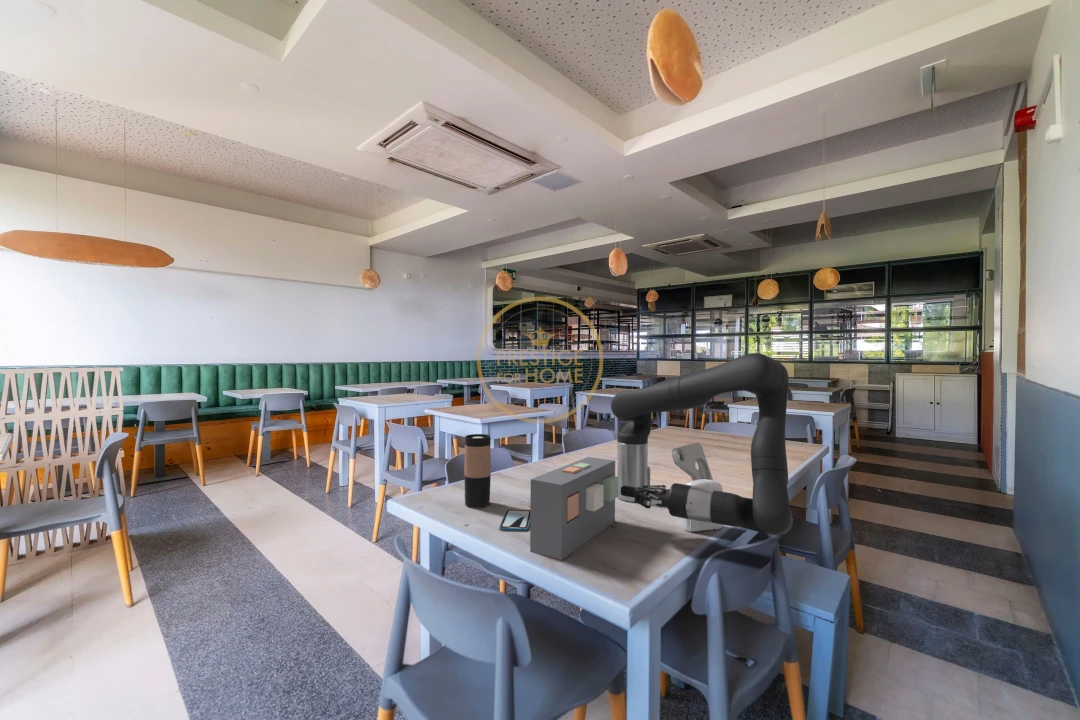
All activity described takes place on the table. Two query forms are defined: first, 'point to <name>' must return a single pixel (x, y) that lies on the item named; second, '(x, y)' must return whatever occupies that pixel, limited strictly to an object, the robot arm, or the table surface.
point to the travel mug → (477, 470)
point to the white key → (594, 496)
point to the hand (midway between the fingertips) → (621, 490)
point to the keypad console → (551, 507)
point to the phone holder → (692, 461)
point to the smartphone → (515, 520)
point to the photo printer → (697, 525)
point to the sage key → (610, 487)
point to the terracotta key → (572, 506)
